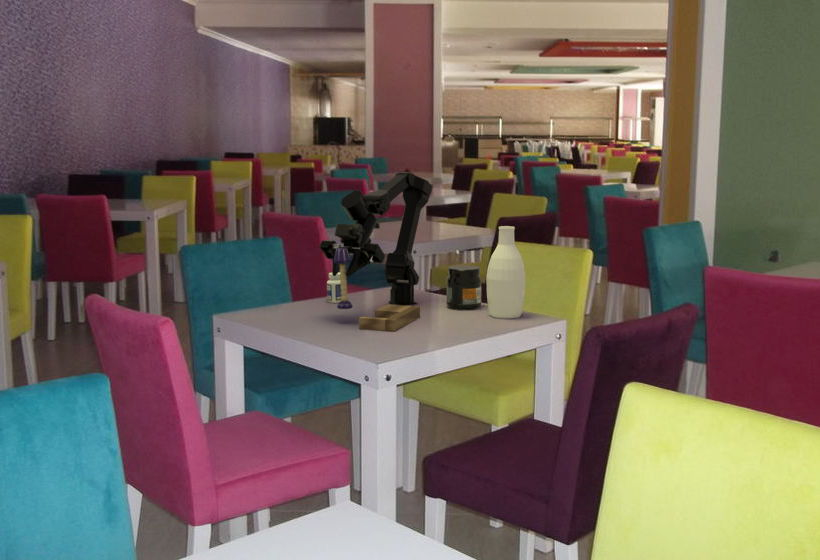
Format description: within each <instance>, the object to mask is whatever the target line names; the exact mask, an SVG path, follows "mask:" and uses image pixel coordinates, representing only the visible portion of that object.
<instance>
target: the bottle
mask: <svg viewBox="0 0 820 560" xmlns="http://www.w3.org/2000/svg"><path fill="white" fill-rule="evenodd" d="M498 230H499V231H498V244H497V246H496V248H495V250H494V251H493V253H492V254H491V257H490V260H489V262H488V266H487V271H486V277H485V278H486V298H487V306H488V313H489V315H490V317H492V318H495V319H517V318H520V317H521V315H522V314H523V307H524V302H525V301H524V300H525V294H526V293H525V292H526V280H527V279H526V268H525V265H524V262H523V258H522V255H521V253H520V252H519V250H518V248H517V246H516V244H515V230H516V228H515V226H513V225H512V226H509V225H504V226H503V225H501V226H498Z"/></svg>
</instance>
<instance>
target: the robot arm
mask: <svg viewBox="0 0 820 560" xmlns="http://www.w3.org/2000/svg"><path fill="white" fill-rule="evenodd" d="M432 192H433V188H432V184H431V183H430V181H428V180H427V179H425V178H423V177H419V176H417V175H415V174H414V173H412V172H407V171H399V172H397V173H396V174H395V175H394V176H393V178H391V179H390V180H389V181H387V183H385V184H384V185H382V187H381V188H379V189H378V190H375V191H371V192H368V193H366V194H363V195H362V192H361V190H359V189H352V192H350V193H348V194H346V195H345V196H344V197H342V199H341V206H342V208H343V210H344V211H345V213H346V215H348V217H349V218H350V220H352V221H354V223H353V225H352V224H347V223H346V224H345V223H344V224H343V223H337V224H336V227H335V231H334V236H335V237H338V238H339V239H340V240H339V241H340V243H341V244H343V245H340V244H338V243H337V242H336V241H335V240H331V239H330V240H329V239H323V240H322V241H321V242H320V244H319V246H318V248H319V249H320V250H321V252H322V254H323V255H324V256H325V258H327V260H332V272H331V273H332V274H333V276H336V275H337V273H338V272H339V273H340V264H338V263H334V257H335V252H336V249H337V248H338V247H346V248H347V249H348V252H349V255H351V256H352V258H351V262H349V263H350V264H349V266H348V268H347V269H346V278H349V277H351V276H352V275H353V274H355V273H356V272H358V271H360V270H361V269H363V268H365V267H366V266H367V265H371V261H372V263H373V264H374V263H375V264H383V262H384V261H385V257H386V256H387V257H386V262H385V263H384V274H385V279H386V280H385V281H386V283H387V284H388V285H389V284H390V285H391V288H390V289H389V290H390V292H389V294H390V297H389V298H390V300H389V301H388V304H390V305H404V306H411V305H416V304H418V302H417V301H415V286H417V285H418V284H419V281H420V276H419V273H418V272H417V270H416V269H415V259H414V257H413V255H412V251H413V247H414V243H415V239H416V236H417V235H416V233H417V229H418V225H419V221H420V216H421V211H422V209H423V208H424V207H425V206H426V205H427V204H428V203H429V200H430V197H431V194H432ZM400 194H402V199H403V202H404V204H405V205H404V211H403V215H402V219H401V224H400V229H399V234H398V237H397V242H396V247H395V250H393V251H392V252H388V254H387V255H386V254H385V252H384V251H383V249H382V248H381V246H380V245H379V243H373V242H372V240H371V236H372V234H373V232H374V230H375V229H376V230H377V229H378V230H380V223H379V219H377V217H376V216H384V215H386V214H387V212H388V211H389V209H390V208H391V203H392V201H394V200H395V198H397V197H398V196H399V195H400ZM371 242H372V243H371Z"/></svg>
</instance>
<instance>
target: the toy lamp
mask: <svg viewBox="0 0 820 560" xmlns="http://www.w3.org/2000/svg"><path fill="white" fill-rule="evenodd" d="M351 261H352V258H351V256H350V255H349V252H348V249H347V248H346V247H338V248H337V249H336V252H335V257H334V263H338V264H340V271H339V273H341V274H340V278H341V280H340V283H341V295H342V297H341V299H342V301H341V302H339V303H337V306H336V308H337V309H339V310H348V309H352V308H353V304H352V302H351V301H349V300H348V299H349V298H348V283H347V282H348V280H347V277H346V272H347V268H346V267H347V264H348V263H351Z"/></svg>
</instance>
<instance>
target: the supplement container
mask: <svg viewBox="0 0 820 560" xmlns="http://www.w3.org/2000/svg"><path fill="white" fill-rule="evenodd" d="M447 270H448V271H447V274H448V276H447V277H446V306H447V307H448V308H449V309H451V308H452V309H451V310H456V309H457V311H458V310H459V311H464V310H465V311H469V310H477V309H479V308H480V307H481V306H482V281H483V280H482V277H481V276H480V275H481V268H480V267H479V266H476V265H467V264H466V265H464V264H463V265H451V266H448V268H447Z"/></svg>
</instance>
